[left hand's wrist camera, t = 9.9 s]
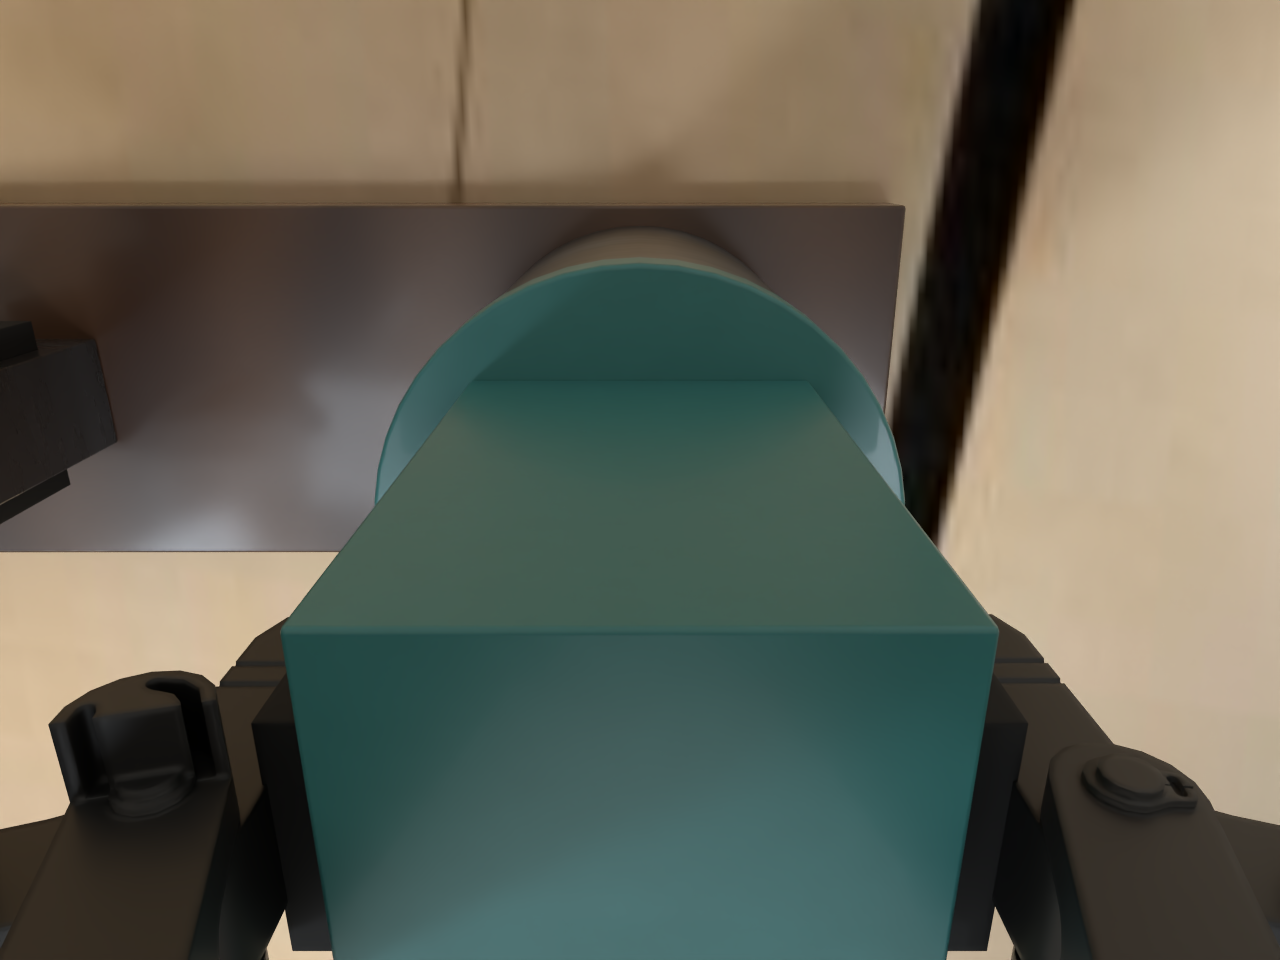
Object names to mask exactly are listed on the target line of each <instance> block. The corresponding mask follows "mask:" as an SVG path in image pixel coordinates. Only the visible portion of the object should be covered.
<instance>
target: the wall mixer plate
mask: <svg viewBox="0 0 1280 960" xmlns="http://www.w3.org/2000/svg"><path fill="white" fill-rule="evenodd" d="M904 218H905V206H903V205H896V204H890V203H0V321H31V323H32V327H33V331H34V335H35V339H36V343H37V348H38V350H35V351H32V352H29V353H25V354H22V355H19V356H16V357H12V358H9V359H6V360H3V361H0V505H1V504H3V503H5V502H6V501H8V500H10V499H12V498H14V497H16V496H18V495H19V494H21V493H23V492H25V491H27V490H29V489H31V488H33V487H34V486H36V485H38V484H40V483H42V482H44V481H46V480H47V479H49V478H51V477H53V476H55V475H57V474H59V473H61V472H62V471H64V470H66V469H67V471H68V476H69V480H70V484H71V485H69V486H67V487H66V488H64V489H62V490H60V491H58V492H57V493H55V494H53V495H51V496H50V497H48V498H46V499H44V500H42V501H41V502H39V503H37V504H35V505H34V506H32V507H30V508H28V509H27V510H25V511H23V512H21V513H19V514H18V515H16V516H14V517H12V518H11V519H9V520H7V521H5V522H3V523H2V524H0V552H340V551H341V549H342V548H343V547H344V545H345V544H346V543H347V542H348V540H349V539H350V538H351V536H352V535H353V534H354V533H355V531H356V530H357V529H358V527H359V526H360V525H361V523H362V522H363V521H364V520H365V518H366V517H367V516H368V514H369V513H370V512H371V510H372V509H373V508H374V507H375V502H374V501H375V491H376V481H377V471H378V465H379V461H380V457H381V453H382V449H383V445H384V441H385V437H386V435H387V432H388V430H389V427H390V425H391V422H392V420H393V417H394V415H395V413H396V410H397V408H398V405H399V404H400V402H401V400H402V399H403V397H404V395H405V393H406V392H407V390H408V388H409V387H410V385H411V383H412V382H413V380H414V378H415V376H416V375H417V374H418V373H419V371H420V370H421V369H422V368H423V366H424V365H425V364H426V363H427V361H428V360H429V359H430V358H431V356H432V355H433V354H434V353H435V351H436V350H437V349H438V348H439V347H440V346H441V345H442V344H443V343H444V342H445V341H446V340H447V339H448V338H449V337H451V336H452V335H453V334H454V333H455V332H456V331H457V330H458V329H459V328H460V327H461V326H462V325H463V324H464V323H465V322H467V321H468V320H469V319H470V318H471V317H472V316H473V315H474V314H476V313H477V312H479V311H480V310H482V309H483V308H484V307H486V306H487V305H489V304H490V303H491V302H493V301H494V300H496V299H497V298H499V297H500V296H501V295H503V294H505V293H507V292H509V291H511V290H513V289H515V288H517V287H519V286H521V285H523V284H525V283H526V282H528V281H530V280H532V279H535V278H537V277H540V276H543V275H546V274H549V273H552V272H554V271H557V270H560V269H563V268H566V267H569V266H574V265H579V264H584V263H589V262H594V261H599V260H604V259H619V258H634V257H645V258H660V259H675V260H680V261H685V262H690V263H695V264H700V265H705V266H710V267H713V268H716V269H719V270H722V271H725V272H728V273H730V274H733V275H736V276H739V277H742V278H745V279H747V280H749V281H751V282H753V283H755V284H757V285H759V286H760V287H762V288H764V289H766V290H768V291H770V292H772V293H774V294H776V295H778V296H779V297H781V298H782V299H783V300H785V301H786V302H788V303H789V304H791V305H792V306H793V307H795V308H796V309H798V310H799V311H801V312H802V313H803V314H805V315H806V316H807V317H808V318H809V319H810V320H812V321H813V322H814V323H815V324H816V325H817V326H818V327H819V328H820V329H821V330H822V331H823V332H824V333H825V334H827V335H828V336H829V337H830V338H831V339H832V340H833V341H834V342H835V343H836V344H837V345H838V346H839V347H840V348H841V349H842V350H843V351H844V352H845V354H846V355H847V356H848V357H849V359H850V360H851V361H852V362H853V364H854V365H855V366H856V367H857V369H858V370H859V371H860V372H861V373H862V375H863V376H864V378H865V380H866V381H867V383H868V385H869V386H870V388H871V390H872V391H873V393H874V395H875V396H876V398H877V400H878V402H879V403H880V405H881V407H882V410H883V412H884V415H885V406H886V396H887V386H888V376H889V367H890V357H891V347H892V337H893V327H894V317H895V307H896V297H897V287H898V277H899V267H900V258H901V248H902V238H903V228H904Z"/></svg>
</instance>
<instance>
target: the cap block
mask: <svg viewBox="0 0 1280 960" xmlns="http://www.w3.org/2000/svg"><path fill="white" fill-rule="evenodd" d="M374 502H375V507H374V508H373V509H372V510H371V512H370V513H369V514H368V516H367V517H366V518H365V520H364V521H363V522H362V523H361V525H360V526H359V527H358V529H357V530H356V531H355V533H354V534H353V535H352V536H351V538H350V539H349V540H348V542H347V543H346V544H345V545H344V547H343V548H342V549H341V551H340V552H339V553H338V555H337V556H336V557H335V558H334V560H333V561H332V562H331V564H330V565H329V566H328V568H327V569H326V570H325V571H324V573H323V574H322V575H321V577H320V578H319V579H318V580H317V582H316V583H315V584H314V586H313V587H312V588H311V590H310V591H309V592H308V593H307V595H306V596H305V597H304V599H303V600H302V601H301V603H300V604H299V605H298V606H297V608H296V609H295V610H294V612H293V613H292V614H291V615H290V617H289V618H288V619H287V621H286V622H285V623H284V625H283V626H282V628H281V631H280V635H281V641H282V647H283V653H284V659H285V666H286V672H287V678H288V684H289V690H290V696H291V702H292V708H293V715H294V721H295V727H296V733H297V739H298V745H299V751H300V758H301V764H302V770H303V776H304V782H305V788H306V794H307V800H308V807H309V813H310V819H311V825H312V831H313V837H314V843H315V849H316V856H317V862H318V868H319V874H320V880H321V886H322V892H323V898H324V905H325V911H326V917H327V923H328V929H329V935H330V941H331V948H332V954H333V960H946V957H947V951H948V945H949V939H950V933H951V927H952V920H953V914H954V908H955V902H956V896H957V890H958V883H959V877H960V871H961V865H962V859H963V853H964V847H965V840H966V834H967V828H968V822H969V816H970V810H971V803H972V797H973V791H974V785H975V779H976V773H977V766H978V760H979V754H980V748H981V742H982V736H983V730H984V723H985V717H986V711H987V705H988V699H989V693H990V686H991V680H992V674H993V668H994V662H995V656H996V650H997V643H998V637H999V629H998V626H997V625H996V624H995V622H994V621H993V620H992V618H991V617H990V616H989V615H988V613H987V612H986V611H985V609H984V608H983V607H982V606H981V604H980V603H979V602H978V600H977V599H976V598H975V596H974V595H973V594H972V593H971V591H970V590H969V589H968V587H967V586H966V585H965V584H964V582H963V581H962V580H961V578H960V577H959V576H958V575H957V573H956V572H955V571H954V569H953V568H952V567H951V565H950V564H949V563H948V562H947V560H946V559H945V558H944V556H943V555H942V554H941V553H940V551H939V550H938V549H937V547H936V546H935V545H934V543H933V542H932V541H931V540H930V538H929V537H928V536H927V534H926V533H925V532H924V531H923V529H922V528H921V527H920V525H919V524H918V523H917V522H916V520H915V519H914V518H913V516H912V515H911V514H910V512H909V511H908V510H907V509H906V507H905V499H904V489H903V479H902V469H901V465H900V461H899V457H898V453H897V449H896V445H895V441H894V437H893V434H892V432H891V429H890V427H889V424H888V422H887V419H886V417H885V415H884V412H883V410H882V407H881V405H880V403H879V402H878V400H877V398H876V396H875V395H874V393H873V391H872V390H871V388H870V386H869V385H868V383H867V381H866V380H865V378H864V376H863V375H862V373H861V372H860V371H859V370H858V369H857V367H856V366H855V365H854V364H853V362H852V361H851V360H850V359H849V357H848V356H847V355H846V354H845V352H844V351H843V350H842V349H841V348H840V347H839V346H838V345H837V344H836V343H835V342H834V341H833V340H832V339H831V338H830V337H829V336H828V335H827V334H825V333H824V332H823V331H822V330H821V329H820V328H819V327H818V326H817V325H816V324H815V323H814V322H813V321H812V320H810V319H809V318H808V317H807V316H806V315H805V314H803V313H802V312H801V311H799V310H798V309H796V308H795V307H793V306H792V305H791V304H789V303H788V302H786V301H785V300H783V299H782V298H781V297H779V296H778V295H776V294H774V293H772V292H770V291H768V290H766V289H764V288H762V287H760V286H759V285H757V284H755V283H753V282H751V281H749V280H747V279H745V278H742V277H739V276H736V275H733V274H730V273H728V272H725V271H722V270H719V269H716V268H713V267H710V266H705V265H700V264H695V263H690V262H685V261H680V260H675V259H660V258H645V257H634V258H619V259H604V260H599V261H594V262H589V263H584V264H579V265H574V266H569V267H566V268H563V269H560V270H557V271H554V272H552V273H549V274H546V275H543V276H540V277H537V278H535V279H532V280H530V281H528V282H526V283H525V284H523V285H521V286H519V287H517V288H515V289H513V290H511V291H509V292H507V293H505V294H503V295H501V296H500V297H499V298H497V299H496V300H494V301H493V302H491V303H490V304H489V305H487V306H486V307H484V308H483V309H482V310H480V311H479V312H477V313H476V314H474V315H473V316H472V317H471V318H470V319H469V320H468V321H467V322H465V323H464V324H463V325H462V326H461V327H460V328H459V329H458V330H457V331H456V332H455V333H454V334H453V335H452V336H451V337H449V338H448V339H447V340H446V341H445V342H444V343H443V344H442V345H441V346H440V347H439V348H438V349H437V350H436V351H435V353H434V354H433V355H432V356H431V358H430V359H429V360H428V361H427V363H426V364H425V365H424V366H423V368H422V369H421V370H420V371H419V373H418V374H417V375H416V376H415V378H414V380H413V382H412V383H411V385H410V387H409V388H408V390H407V392H406V393H405V395H404V397H403V399H402V400H401V402H400V404H399V405H398V408H397V410H396V413H395V415H394V417H393V420H392V422H391V425H390V427H389V430H388V432H387V435H386V437H385V441H384V445H383V449H382V453H381V457H380V461H379V465H378V471H377V481H376V491H375V501H374Z"/></svg>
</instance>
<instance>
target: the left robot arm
mask: <svg viewBox="0 0 1280 960" xmlns="http://www.w3.org/2000/svg"><path fill="white" fill-rule="evenodd" d="M988 615H989V616H990V617H991V618H992V620H993V621H994V622H995V624H996V625H997V626H998V629H999V637H998V643H997V650H996V656H995V662H994V668H993V674H992V680H991V686H990V693H989V699H988V705H987V711H986V717H985V723H984V730H983V736H982V742H981V748H980V754H979V760H978V766H977V773H976V779H975V785H974V791H973V797H972V803H971V810H970V816H969V822H968V828H967V834H966V840H965V847H964V853H963V859H962V865H961V871H960V877H959V883H958V890H957V896H956V902H955V908H954V914H953V920H952V927H951V933H950V939H949V945H948V951H987V947H988V941H989V936H990V931H991V925H992V920H993V914H994V909H995V907H996V909H997V911H998V913H999V915H1000V917H1001V919H1002V921H1003V924H1004V926H1005V928H1006V930H1007V932H1008V934H1009V936H1010V938H1011V940H1012V942H1013V944H1014V947H1013V952H1012V957H1011V960H1280V825H1275V824H1270V823H1266V822H1261V821H1256V820H1251V819H1246V818H1242V817H1237V816H1232V815H1229V814H1225V813H1221V812H1218V811H1214V809H1213V807H1212V805H1211V803H1210V801H1209V800H1208V798H1207V797H1206V796H1205V795H1204V793H1203V792H1202V791H1201V789H1200V788H1199V787H1198V786H1197V784H1196V783H1195V782H1194V781H1193V780H1191V779H1190V778H1188V777H1187V776H1186V775H1184V774H1183V773H1182V772H1180V771H1179V770H1177V769H1176V768H1175V767H1173V766H1172V765H1170V764H1168V763H1166V762H1164V761H1162V760H1159V759H1157V758H1155V757H1153V756H1151V755H1148V754H1146V753H1144V752H1142V751H1138V750H1134V749H1130V748H1126V747H1122V746H1119V745H1115V744H1113V743H1112V741H1111V740H1110V739H1109V738H1108V736H1107V735H1106V734H1105V733H1104V732H1103V730H1102V729H1101V728H1100V727H1099V725H1098V724H1097V723H1096V722H1095V721H1094V719H1093V718H1092V717H1091V716H1090V714H1089V713H1088V712H1087V711H1086V710H1085V708H1084V707H1083V706H1082V705H1081V703H1080V702H1079V701H1078V700H1077V698H1076V697H1075V696H1074V695H1073V694H1072V692H1071V691H1070V690H1069V689H1068V687H1067V686H1066V685H1065V684H1061V683H1060V678H1059V676H1058V675H1057V674H1056V673H1055V672H1054V670H1053V669H1052V668H1051V667H1050V665H1049V664H1048V663H1044V658H1043V657H1042V656H1041V654H1040V653H1039V652H1038V651H1037V649H1036V648H1035V647H1034V646H1033V645H1032V643H1031V642H1030V641H1029V640H1028V638H1027V637H1026V636H1025V635H1024V634H1023V633H1021V632H1019V631H1018V630H1016V629H1015V628H1013V627H1011V626H1010V625H1008V624H1007V623H1005V622H1003V621H1002V620H1000V619H999V618H997V617H995V616H994V615H992V614H988ZM288 618H289V617H287V618H286V619H284V620H283V621H281V622H279V623H278V624H276V625H275V626H273V627H272V628H270V629H268V630H267V631H265V632H264V633H262V634H260V635H259V636H257V637H256V638H255V639H254V640H253V641H252V642H251V644H250V645H249V646H248V647H247V649H246V650H245V651H244V652H243V654H242V655H241V656H240V657H239V659H238V660H237V661H236V666H232V667H231V668H230V670H229V671H228V672H227V673H226V675H225V676H224V677H223V678H222V679H221V681H220V686H219V687H215V685H214V684H213V683H211V682H210V681H209V680H208V679H206V678H205V677H204V676H203V675H199V674H194V673H189V672H184V671H160V672H149V673H144V674H140V675H136V676H131V677H127V678H122V679H119V680H116V681H114V682H111V683H109V684H106V685H104V686H101V687H99V688H96V689H94V690H91V691H89V692H88V693H86V694H84V695H83V696H81V697H80V698H78V699H76V700H75V701H73V702H72V703H70V704H68V705H67V706H65V707H64V708H63V709H62V710H61V711H60V712H59V713H58V715H57V716H56V717H55V718H54V719H53V720H52V721H51V722H50V723H49V724H48V725H49V729H50V732H51V736H52V739H53V743H54V746H55V750H56V754H57V757H58V761H59V764H60V768H61V772H62V775H63V779H64V782H65V786H66V789H67V793H68V797H69V800H70V804H69V806H68V808H67V810H66V813H65V815H62V816H58V817H55V818H51V819H47V820H43V821H38V822H33V823H28V824H24V825H19V826H14V827H9V828H4V829H0V960H269V957H268V952H267V946H268V944H269V942H270V939H271V937H272V935H273V933H274V931H275V929H276V927H277V925H278V923H279V920H280V918H281V916H282V914H283V912H284V910H285V912H286V917H287V923H288V928H289V934H290V939H291V945H292V950H293V951H332V948H331V941H330V935H329V929H328V923H327V917H326V911H325V905H324V898H323V892H322V886H321V880H320V874H319V868H318V862H317V856H316V849H315V843H314V837H313V831H312V825H311V819H310V813H309V807H308V800H307V794H306V788H305V782H304V776H303V770H302V764H301V758H300V751H299V745H298V739H297V733H296V727H295V721H294V715H293V708H292V702H291V696H290V690H289V684H288V678H287V672H286V666H285V659H284V653H283V647H282V641H281V635H280V631H281V628H282V626H283V625H284V623H285V622H286V621H287V619H288Z"/></svg>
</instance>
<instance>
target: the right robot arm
mask: <svg viewBox="0 0 1280 960" xmlns="http://www.w3.org/2000/svg"><path fill="white" fill-rule="evenodd" d="M35 350H38V348H37V343H36V339H35V335H34V331H33V327H32V323H31V321H0V361H3V360H6V359H9V358H12V357H16V356H19V355H22V354H25V353H29V352H32V351H35ZM69 485H71V484H70V480H69V476H68V471H67V469H66V470H64V471H62V472H61V473H59V474H57V475H55V476H53V477H51V478H49V479H47V480H46V481H44V482H42V483H40V484H38V485H36V486H34V487H33V488H31V489H29V490H27V491H25V492H23V493H21V494H19V495H18V496H16V497H14V498H12V499H10V500H8V501H6V502H5V503H3V504H1V505H0V524H2V523H3V522H5V521H7V520H9V519H11V518H12V517H14V516H16V515H18V514H19V513H21V512H23V511H25V510H27V509H28V508H30V507H32V506H34V505H35V504H37V503H39V502H41V501H42V500H44V499H46V498H48V497H50V496H51V495H53V494H55V493H57V492H58V491H60V490H62V489H64V488H66V487H67V486H69Z"/></svg>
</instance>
